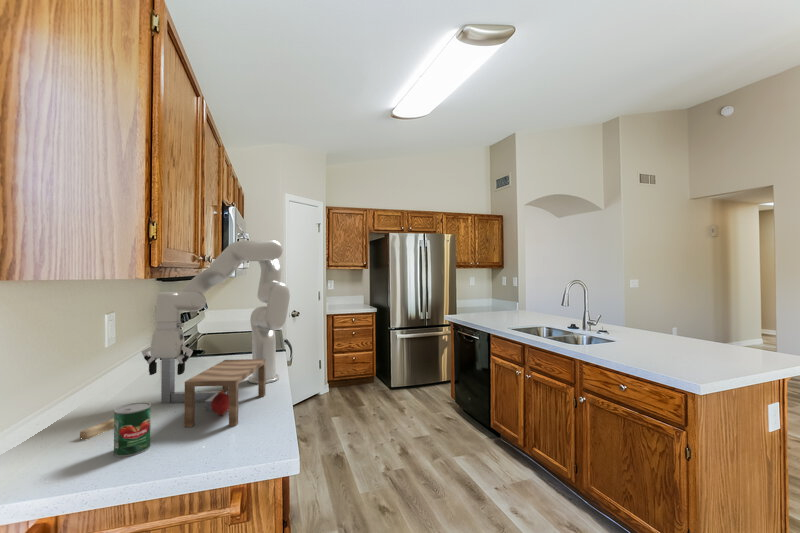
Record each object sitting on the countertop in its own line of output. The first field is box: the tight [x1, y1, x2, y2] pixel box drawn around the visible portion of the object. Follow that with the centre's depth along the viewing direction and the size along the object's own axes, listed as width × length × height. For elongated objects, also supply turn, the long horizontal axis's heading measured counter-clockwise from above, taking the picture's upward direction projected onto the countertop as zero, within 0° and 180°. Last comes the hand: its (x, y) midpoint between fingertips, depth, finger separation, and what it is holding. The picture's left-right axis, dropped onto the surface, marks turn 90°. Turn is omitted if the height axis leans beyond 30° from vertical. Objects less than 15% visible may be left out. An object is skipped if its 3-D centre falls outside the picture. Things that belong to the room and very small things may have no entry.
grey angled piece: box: [160, 358, 227, 411], centre depth 131 cm, size 12×22×18 cm, turn 93°
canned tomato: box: [113, 401, 152, 458], centre depth 98 cm, size 8×8×11 cm
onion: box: [211, 389, 229, 416], centre depth 121 cm, size 6×6×8 cm
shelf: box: [183, 358, 267, 428], centre depth 127 cm, size 29×15×14 cm, turn 3°
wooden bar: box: [79, 418, 114, 440], centre depth 111 cm, size 14×2×2 cm, turn 168°
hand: (166, 374), depth 135 cm, fingers open, 9 cm apart
